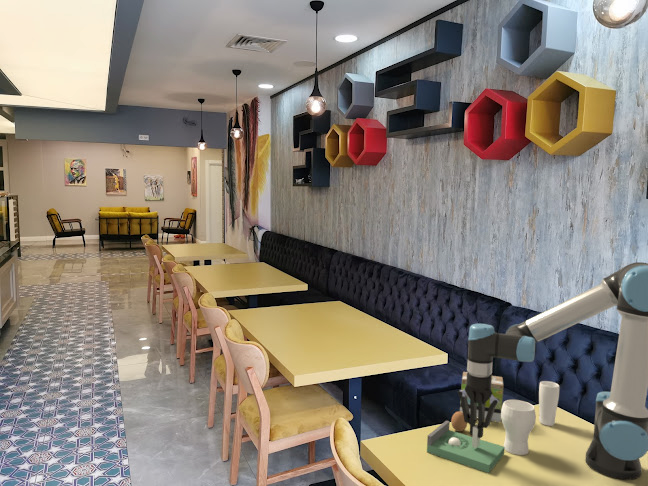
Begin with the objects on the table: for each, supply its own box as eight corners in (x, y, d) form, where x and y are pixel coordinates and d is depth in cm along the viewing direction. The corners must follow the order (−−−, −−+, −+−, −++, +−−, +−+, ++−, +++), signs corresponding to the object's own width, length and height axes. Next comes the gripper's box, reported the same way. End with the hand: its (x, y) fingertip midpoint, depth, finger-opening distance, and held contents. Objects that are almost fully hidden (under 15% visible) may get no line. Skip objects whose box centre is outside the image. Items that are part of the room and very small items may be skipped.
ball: (455, 449, 168) (465, 445, 166) (450, 453, 165) (460, 449, 163) (448, 437, 169) (458, 433, 167) (444, 441, 166) (453, 437, 164)
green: (504, 454, 164) (505, 437, 164) (488, 473, 152) (489, 455, 152) (445, 435, 176) (446, 420, 176) (426, 452, 164) (427, 435, 164)
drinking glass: (542, 418, 194) (545, 379, 193) (560, 424, 189) (563, 384, 188) (533, 422, 190) (536, 383, 189) (551, 428, 185) (554, 388, 184)
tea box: (459, 417, 193) (461, 378, 192) (460, 407, 202) (462, 370, 201) (501, 423, 188) (503, 384, 187) (500, 413, 198) (502, 375, 197)
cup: (536, 459, 162) (539, 413, 161) (501, 455, 164) (504, 409, 163) (529, 444, 172) (532, 400, 171) (496, 440, 174) (499, 397, 173)
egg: (448, 427, 183) (449, 408, 182) (463, 427, 184) (464, 408, 183) (454, 434, 178) (455, 414, 177) (469, 434, 178) (470, 414, 178)
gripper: (504, 375, 160) (500, 448, 161) (463, 366, 167) (460, 436, 169) (496, 381, 154) (492, 457, 155) (454, 372, 161) (451, 444, 163)
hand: (475, 446), depth 162 cm, fingers closed
